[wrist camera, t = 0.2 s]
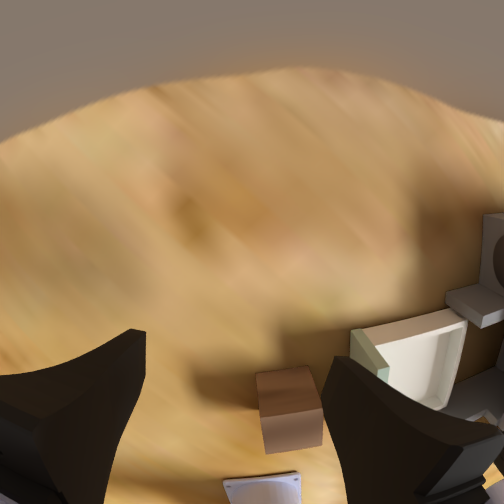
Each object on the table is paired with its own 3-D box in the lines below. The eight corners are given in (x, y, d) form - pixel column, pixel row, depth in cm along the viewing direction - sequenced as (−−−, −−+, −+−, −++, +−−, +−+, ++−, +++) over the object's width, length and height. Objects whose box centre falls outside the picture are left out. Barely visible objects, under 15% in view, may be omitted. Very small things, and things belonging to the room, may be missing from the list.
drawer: (434, 392, 24) (460, 424, 19) (345, 419, 23) (362, 461, 18) (451, 306, 21) (489, 333, 16) (350, 330, 21) (378, 369, 16)
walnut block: (309, 402, 23) (322, 445, 18) (260, 409, 23) (265, 454, 18) (308, 365, 22) (323, 407, 17) (255, 372, 22) (260, 417, 17)
